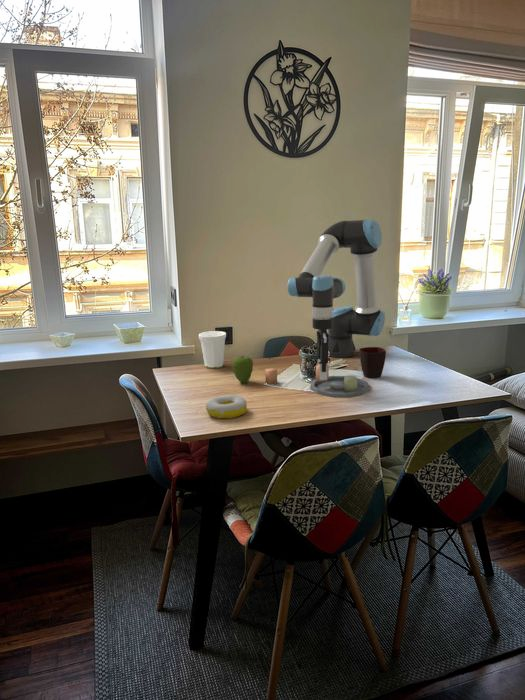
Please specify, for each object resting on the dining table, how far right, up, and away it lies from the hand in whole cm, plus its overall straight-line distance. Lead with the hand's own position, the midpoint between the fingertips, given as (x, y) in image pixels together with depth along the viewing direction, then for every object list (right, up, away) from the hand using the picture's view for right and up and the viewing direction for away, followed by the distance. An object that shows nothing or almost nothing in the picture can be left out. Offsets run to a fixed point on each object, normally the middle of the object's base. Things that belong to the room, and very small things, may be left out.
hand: (322, 377), depth 193 cm
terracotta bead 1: (-19, -3, +13) cm, 23 cm away
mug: (+22, -1, +17) cm, 28 cm away
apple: (-31, -3, +14) cm, 34 cm away
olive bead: (+10, -5, -4) cm, 12 cm away
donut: (-35, -12, -19) cm, 42 cm away
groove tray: (+7, -5, +2) cm, 8 cm away
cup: (-45, +3, +39) cm, 60 cm away
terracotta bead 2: (0, -1, 0) cm, 1 cm away
